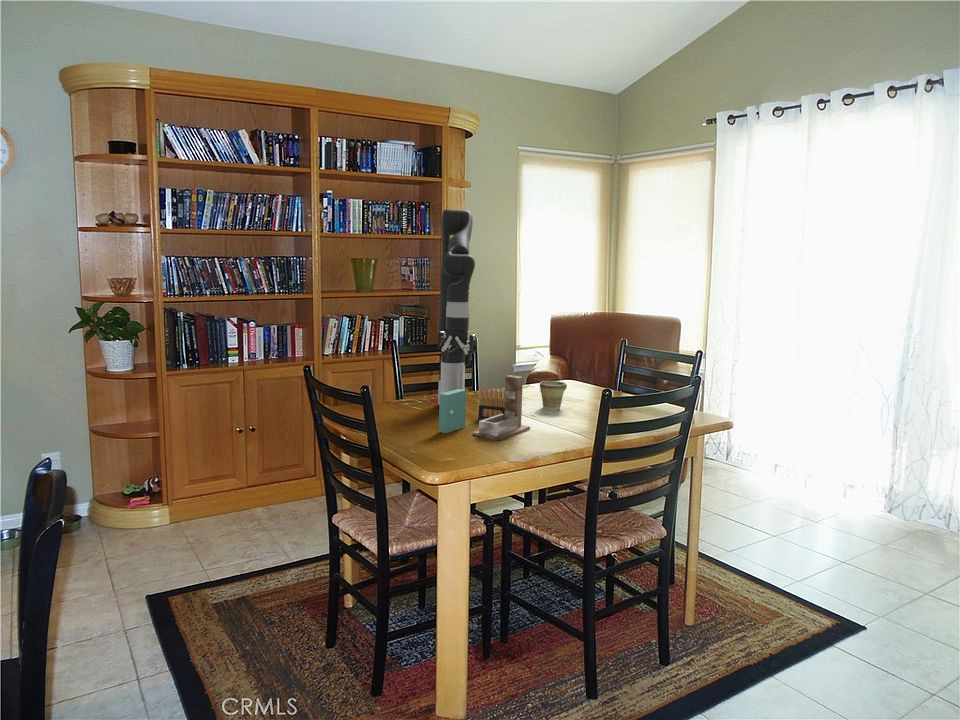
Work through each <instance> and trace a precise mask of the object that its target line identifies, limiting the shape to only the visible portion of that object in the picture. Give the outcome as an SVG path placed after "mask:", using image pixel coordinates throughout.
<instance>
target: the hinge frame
mask: <svg viewBox="0 0 960 720" xmlns="http://www.w3.org/2000/svg"><path fill="white" fill-rule="evenodd" d="M523 381H524V378H523V376H521V375H520V376H519V375H518V376H517V375H506V376H505V383H504V384H505V386H504V387H505V388H504V390H505V410H504V414H499V415H496V416H493V417H490V418H487V419H480V420H479V423H478V430H475V431H473V432H471V433H472V434H471V435H472V436H473V435H475V436H474V437H478V436H480V437H479V438H483V437H485V439H489V438H490V440H494V439H495V440H494V441H499V440H500V441H499V442H501V440H502V441H504V440H506V438H507V439H509V437H510V438H512V437H514V435H515V436H517V435H520V434H522V433H525V432H528V431H530V430H531V426H529V425H523V424H522V410H523V409H522V408H523V407H522V406H523V387H524V385H523V383H524V382H523ZM529 429H530V430H529Z"/></svg>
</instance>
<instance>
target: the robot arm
mask: <svg viewBox="0 0 960 720" xmlns="http://www.w3.org/2000/svg"><path fill="white" fill-rule="evenodd" d="M472 231H473V214H472V212H471V210H467V209H456V208H455V209H453V208H445V209H444V210H443V211H442V214H441V261H440V262H441V264H440V279H439V280H440V283H439V289H440V291H439V293H440V295H439V299H440V300H439V312H438V313H439V314H438V322H437V323H438V324H437V344H436V345H437V346H436V347H437V350H440V351H441V353H442V354H441V355H440V356H441V357H440V380H438V390H437V391H438V392H437V393H438V396H437V405H438V404H439V403H440V394H441V393H445V392H449V391H453V390H457V389H462V390H465V384H466V383H465V379H466V376H465V375H466V367H467V366H468V367H469V366H470V365H471V363H472V354H475V353H477V352H478V351H477V349H478V347H477V346H478V345H477V342H478V341H477V335H476V334H469V333H468V332H469V327H470V322H469V321H470V318H469V317H470V304H469V298H470V296H469V295H470V286H471V285H470V284H471V281H472V277H473V274H474V271H475V266H476V261H475V259H474V257H473V255H470V241H471V236H472ZM468 341H469V342H468ZM451 347H454V348H453V349H451Z"/></svg>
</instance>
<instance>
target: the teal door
mask: <svg viewBox="0 0 960 720" xmlns="http://www.w3.org/2000/svg"><path fill="white" fill-rule="evenodd" d="M466 398H467V390H466V389H464V390H462V389H457V390H453V391H449V392H445V393H441V394H440V403H439V411H438V414H439V415H438V433H440V432H442V433H441V434H445V433H447V434H449V432H450V433H453V432H455V430H456V431H458V430H457V429H459V430H461V428H462V429H464V428H463V427H465V428H466V411H467V409H466V405H467V404H466V403H467V402H466V401H467V399H466ZM452 431H453V432H452Z"/></svg>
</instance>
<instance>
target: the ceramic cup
mask: <svg viewBox="0 0 960 720" xmlns="http://www.w3.org/2000/svg"><path fill="white" fill-rule="evenodd" d="M539 389H540V393H541V400H542V408H543V410H546V409H547V410H546V411H559V410H560V409H561V406H562V405H561V404H562V402H563V401H562V400H563V396H564V393H565V391H566V390H567V383H565V382H563V381H559V380H543V381H540V382H539ZM558 409H559V410H558Z"/></svg>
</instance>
